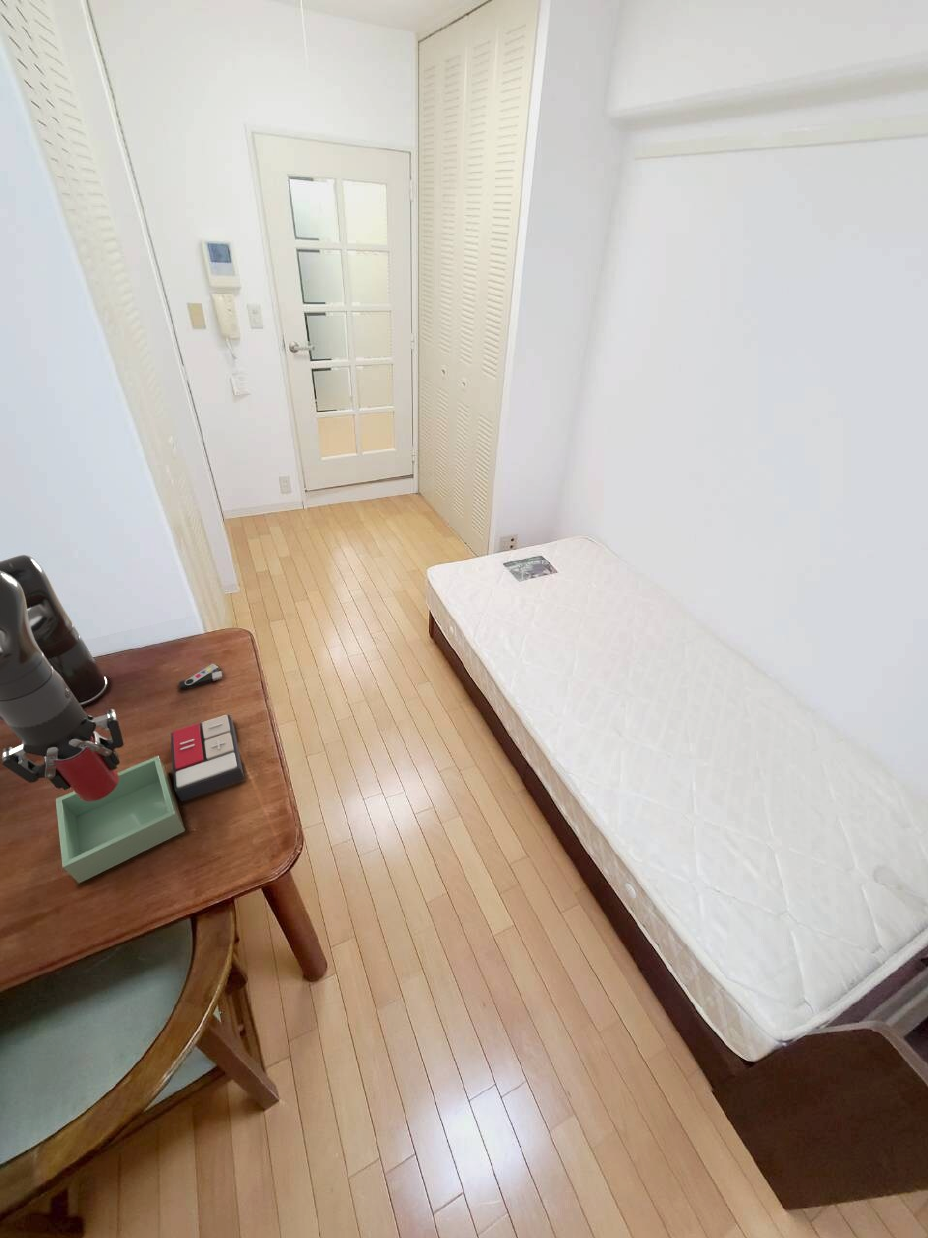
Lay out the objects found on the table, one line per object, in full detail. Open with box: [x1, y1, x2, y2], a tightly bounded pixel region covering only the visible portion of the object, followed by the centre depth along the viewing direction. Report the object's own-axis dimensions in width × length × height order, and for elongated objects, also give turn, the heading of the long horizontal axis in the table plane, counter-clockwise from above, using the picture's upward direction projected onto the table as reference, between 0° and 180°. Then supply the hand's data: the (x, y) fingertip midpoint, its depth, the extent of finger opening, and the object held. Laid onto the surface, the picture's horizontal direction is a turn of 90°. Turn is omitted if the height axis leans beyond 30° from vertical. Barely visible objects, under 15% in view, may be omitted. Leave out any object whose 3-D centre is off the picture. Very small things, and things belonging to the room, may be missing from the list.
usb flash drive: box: [178, 663, 223, 691], centre depth 114 cm, size 9×5×1 cm, turn 117°
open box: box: [55, 755, 186, 884], centre depth 86 cm, size 14×16×6 cm
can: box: [53, 737, 119, 801], centre depth 77 cm, size 6×6×10 cm
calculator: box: [170, 714, 245, 802], centre depth 97 cm, size 11×4×15 cm
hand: (90, 774), depth 78 cm, fingers closed on can, 5 cm apart
